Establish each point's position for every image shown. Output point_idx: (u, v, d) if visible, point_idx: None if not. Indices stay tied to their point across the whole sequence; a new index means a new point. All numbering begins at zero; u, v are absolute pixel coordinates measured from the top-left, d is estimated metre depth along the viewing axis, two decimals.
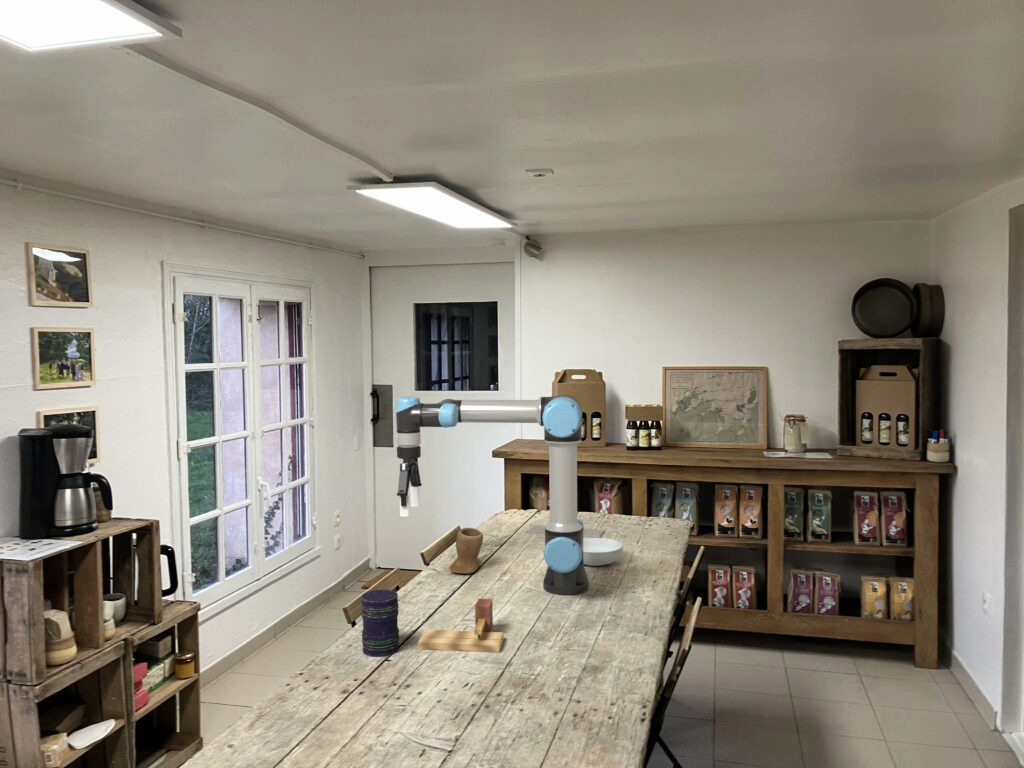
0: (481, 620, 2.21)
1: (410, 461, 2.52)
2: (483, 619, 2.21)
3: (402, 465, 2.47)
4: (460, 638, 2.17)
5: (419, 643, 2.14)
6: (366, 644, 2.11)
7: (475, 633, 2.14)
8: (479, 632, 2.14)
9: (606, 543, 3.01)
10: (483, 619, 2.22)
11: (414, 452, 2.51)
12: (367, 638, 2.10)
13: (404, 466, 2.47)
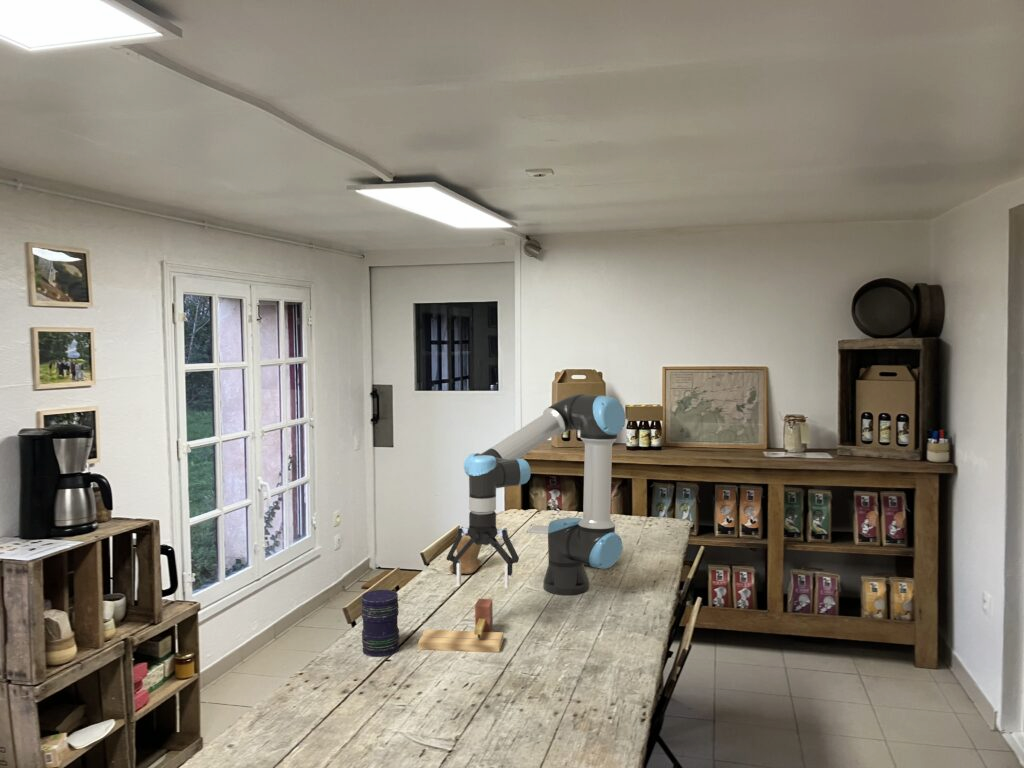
0: (481, 620, 2.21)
1: (473, 528, 2.22)
2: (483, 619, 2.21)
3: (459, 528, 2.24)
4: (460, 638, 2.17)
5: (419, 643, 2.14)
6: (366, 644, 2.11)
7: (475, 633, 2.14)
8: (479, 632, 2.14)
9: None
10: (483, 619, 2.22)
11: (471, 519, 2.21)
12: (367, 638, 2.10)
13: None
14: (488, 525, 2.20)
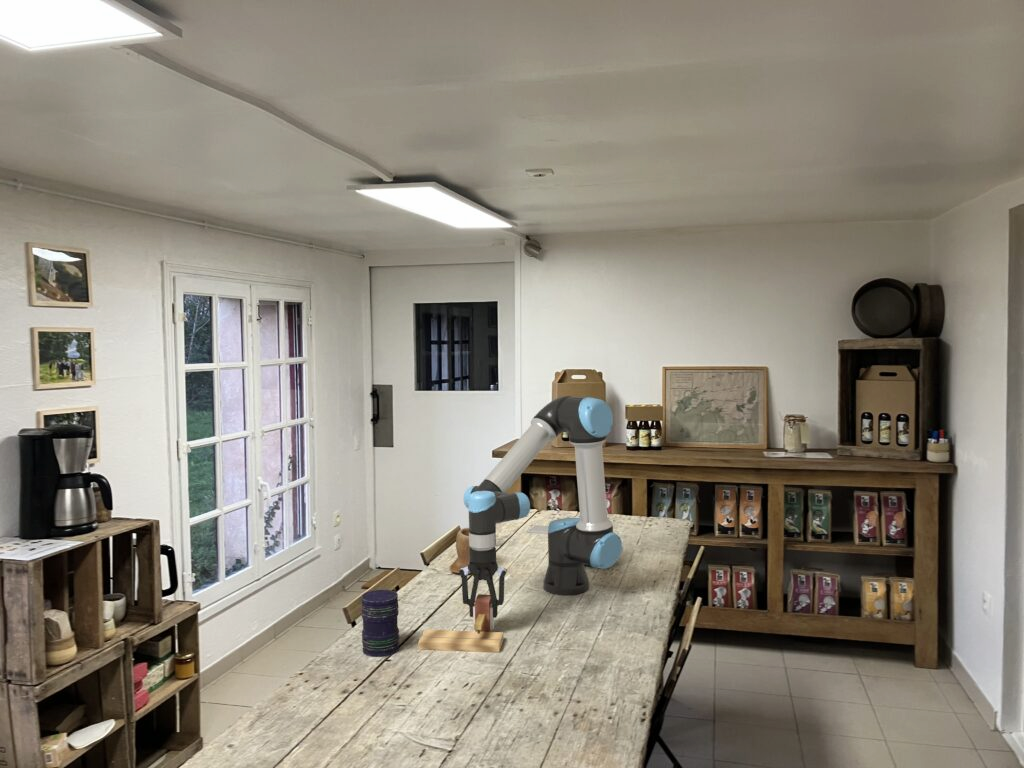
0: (481, 615, 2.21)
1: (474, 564, 2.23)
2: (483, 614, 2.21)
3: None
4: (460, 638, 2.17)
5: (419, 643, 2.14)
6: (366, 644, 2.11)
7: (475, 628, 2.14)
8: (479, 627, 2.14)
9: None
10: (482, 614, 2.22)
11: (471, 555, 2.21)
12: (367, 638, 2.10)
13: None
14: (488, 561, 2.21)
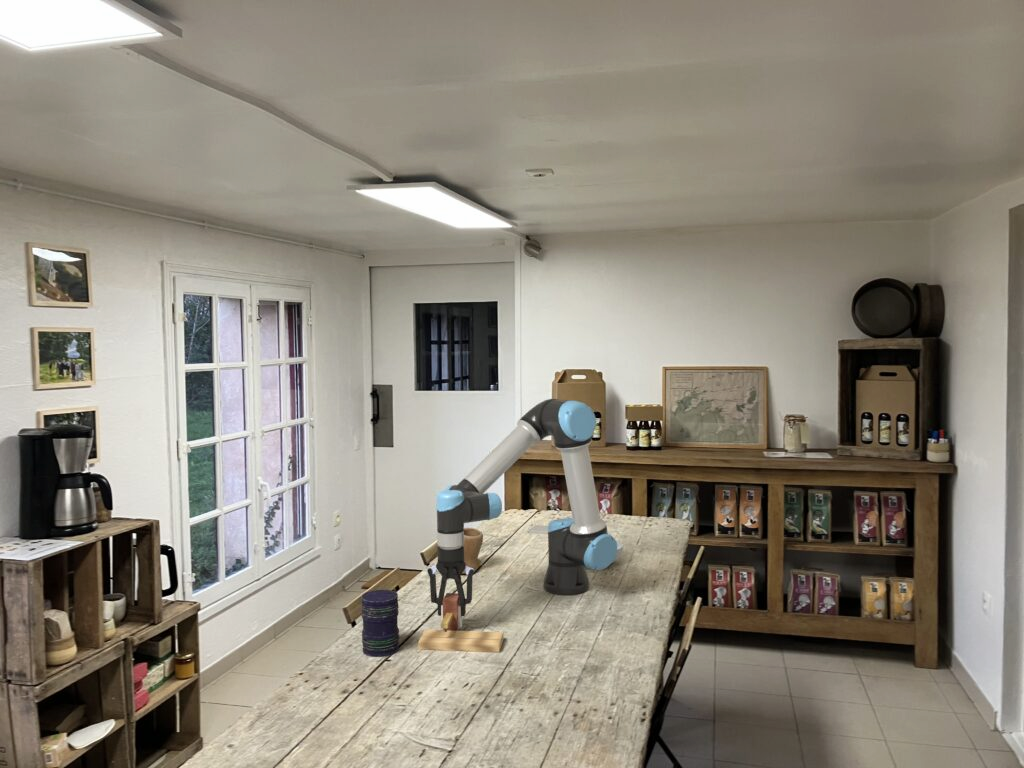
0: (448, 614, 2.22)
1: (442, 563, 2.24)
2: (450, 613, 2.22)
3: None
4: (460, 638, 2.17)
5: (419, 643, 2.14)
6: (366, 644, 2.11)
7: (441, 627, 2.15)
8: (445, 626, 2.15)
9: None
10: (450, 613, 2.23)
11: (439, 554, 2.22)
12: (367, 638, 2.10)
13: None
14: (456, 560, 2.22)
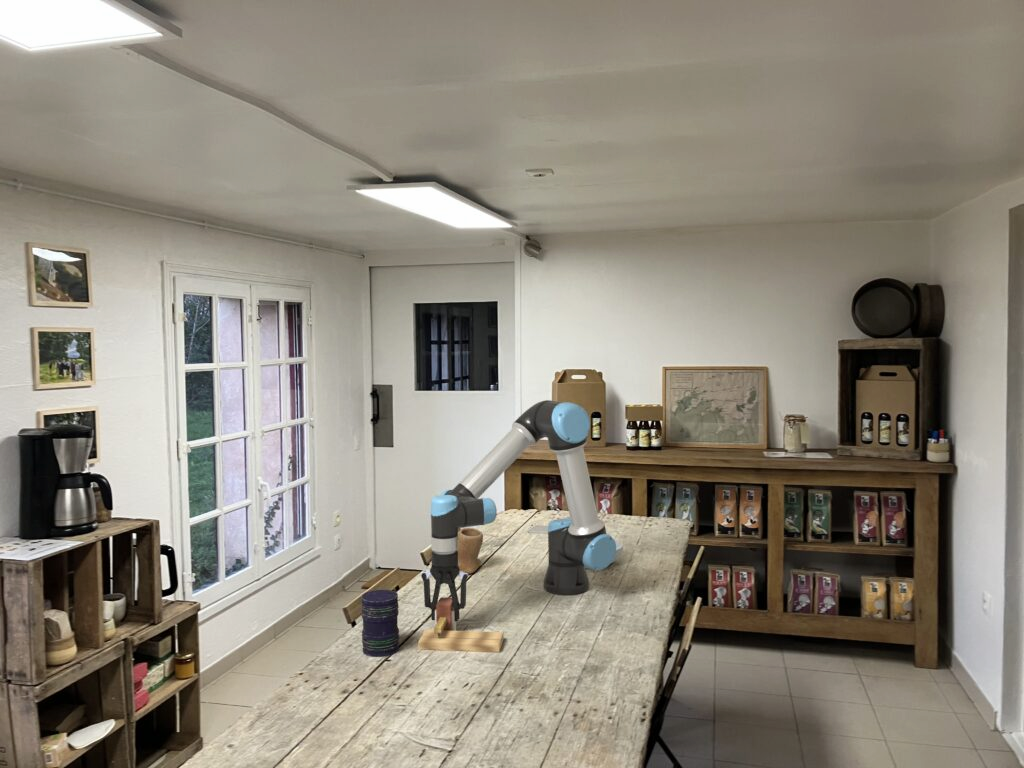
0: (442, 618, 2.22)
1: (436, 568, 2.24)
2: (444, 617, 2.23)
3: None
4: (460, 638, 2.17)
5: (419, 643, 2.14)
6: (366, 644, 2.11)
7: (435, 631, 2.16)
8: (439, 630, 2.15)
9: None
10: (444, 617, 2.23)
11: (433, 559, 2.23)
12: (367, 638, 2.10)
13: None
14: (450, 565, 2.22)
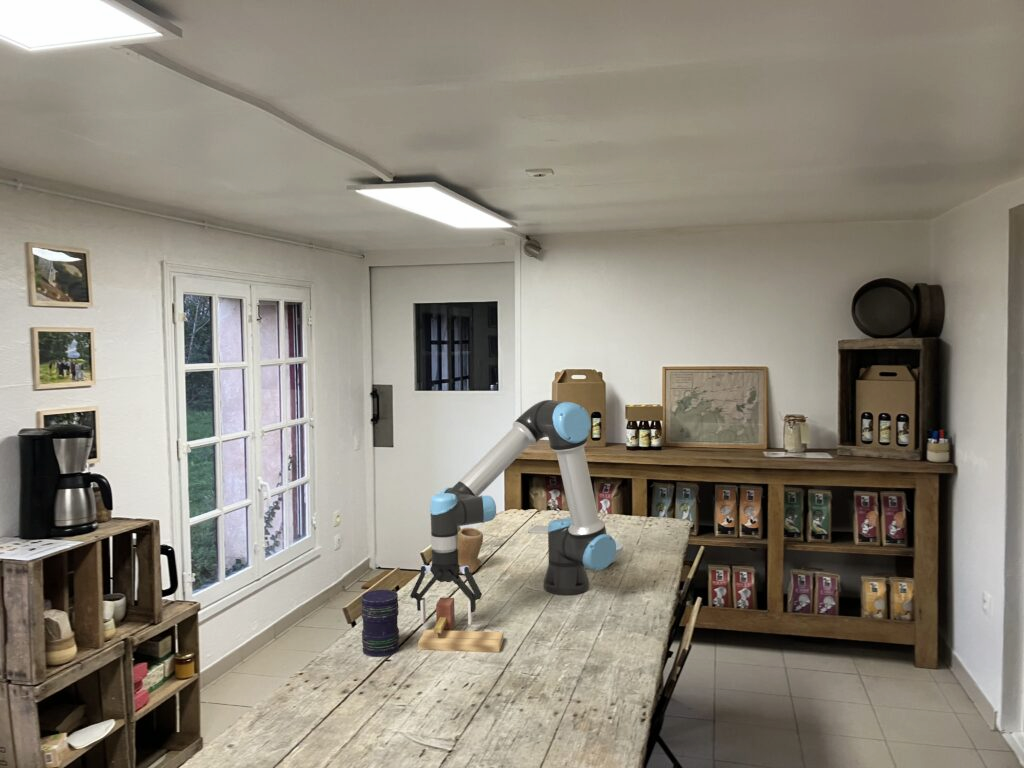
0: (442, 618, 2.22)
1: (436, 566, 2.25)
2: (444, 617, 2.23)
3: None
4: (460, 638, 2.17)
5: (419, 643, 2.14)
6: (366, 644, 2.11)
7: (435, 631, 2.16)
8: (439, 630, 2.15)
9: None
10: (444, 617, 2.23)
11: (433, 557, 2.23)
12: (367, 638, 2.10)
13: None
14: (450, 563, 2.22)
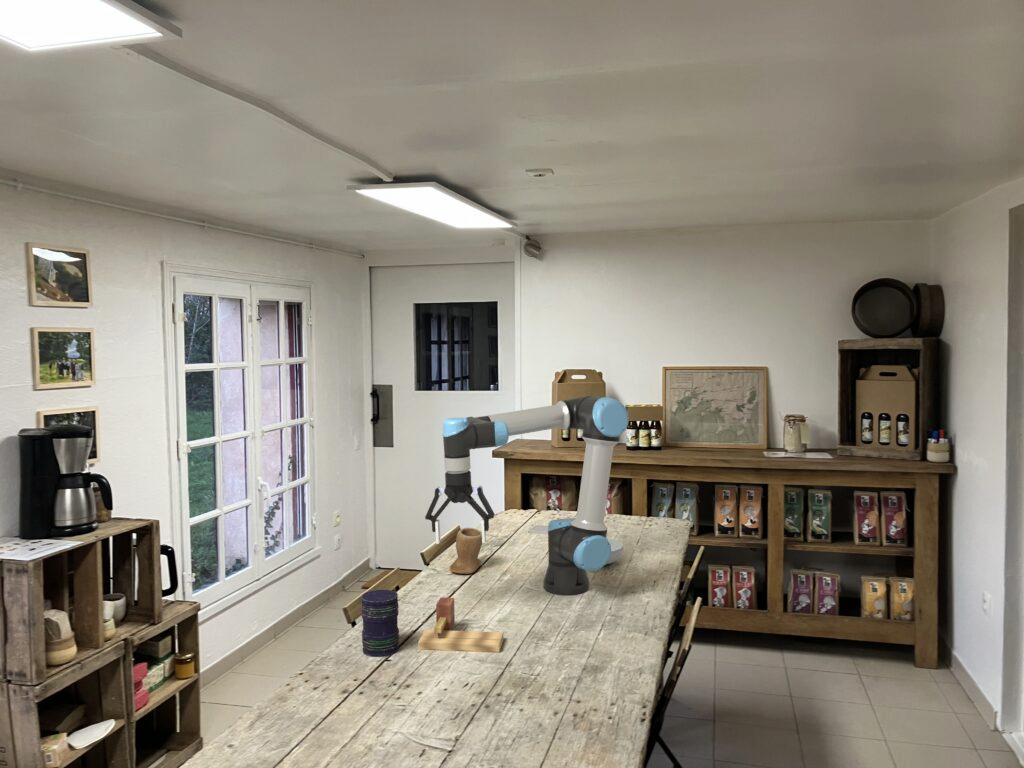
0: (442, 619, 2.22)
1: (450, 487, 2.32)
2: (444, 618, 2.23)
3: None
4: (460, 638, 2.17)
5: (419, 643, 2.14)
6: (366, 644, 2.11)
7: (435, 631, 2.16)
8: (439, 630, 2.15)
9: None
10: (444, 617, 2.23)
11: (447, 479, 2.30)
12: (367, 638, 2.10)
13: None
14: (463, 483, 2.29)
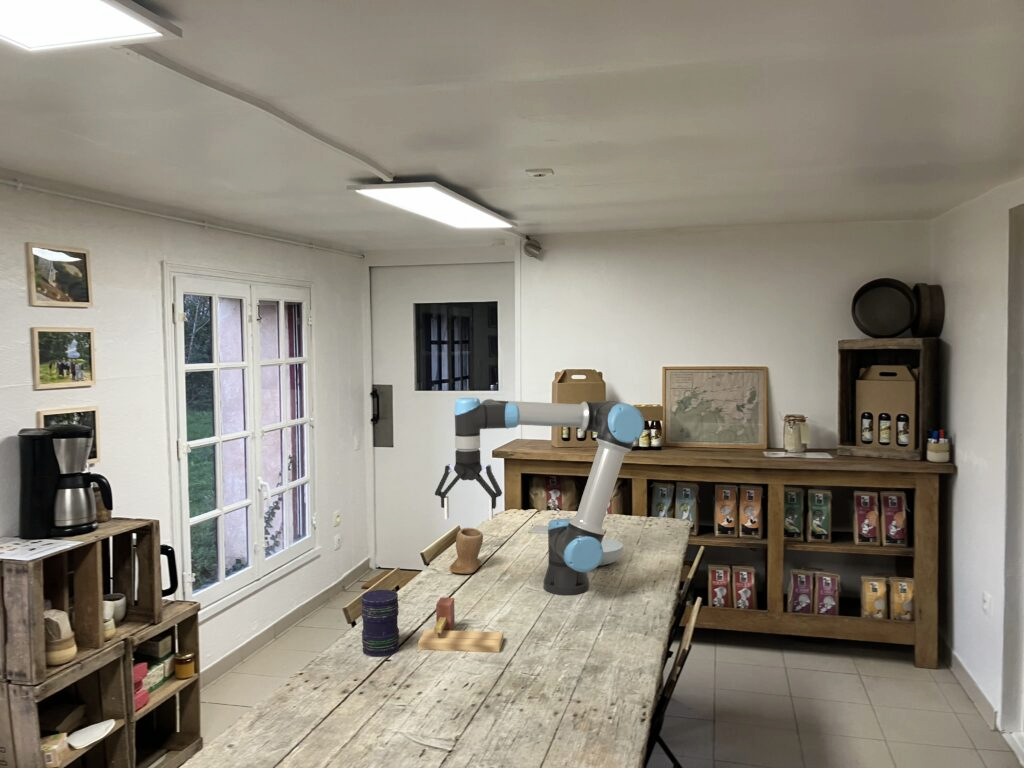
0: (442, 618, 2.22)
1: (459, 465, 2.39)
2: (444, 617, 2.23)
3: None
4: (460, 638, 2.17)
5: (419, 643, 2.14)
6: (366, 644, 2.11)
7: (435, 631, 2.16)
8: (439, 630, 2.15)
9: (606, 543, 3.01)
10: (444, 617, 2.23)
11: (457, 456, 2.37)
12: (367, 638, 2.10)
13: None
14: (473, 461, 2.36)
